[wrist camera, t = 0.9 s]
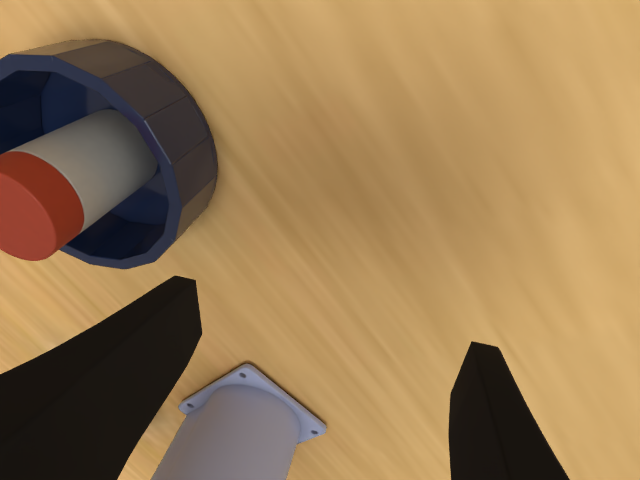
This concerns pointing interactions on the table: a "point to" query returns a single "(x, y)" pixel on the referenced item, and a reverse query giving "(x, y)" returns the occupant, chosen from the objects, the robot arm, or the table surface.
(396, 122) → the table surface
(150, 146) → the dark blue round bowl
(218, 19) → the table surface
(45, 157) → the glue stick
